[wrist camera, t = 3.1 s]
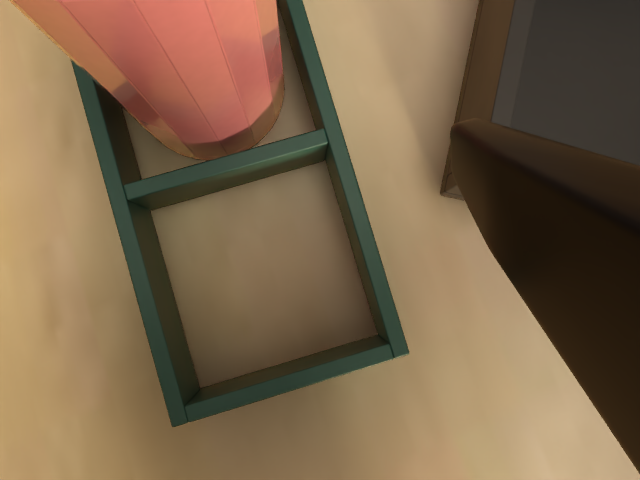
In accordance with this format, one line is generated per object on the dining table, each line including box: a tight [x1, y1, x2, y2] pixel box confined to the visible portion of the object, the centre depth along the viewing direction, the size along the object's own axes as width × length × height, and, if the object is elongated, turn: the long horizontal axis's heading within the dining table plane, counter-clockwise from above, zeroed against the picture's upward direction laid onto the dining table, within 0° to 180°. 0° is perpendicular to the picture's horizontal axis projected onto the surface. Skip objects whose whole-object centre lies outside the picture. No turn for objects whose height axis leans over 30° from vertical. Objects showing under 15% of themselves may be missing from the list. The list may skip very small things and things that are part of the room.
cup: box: [9, 0, 285, 160], centre depth 16 cm, size 6×6×13 cm
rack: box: [71, 0, 409, 427], centre depth 21 cm, size 17×9×3 cm, turn 16°
